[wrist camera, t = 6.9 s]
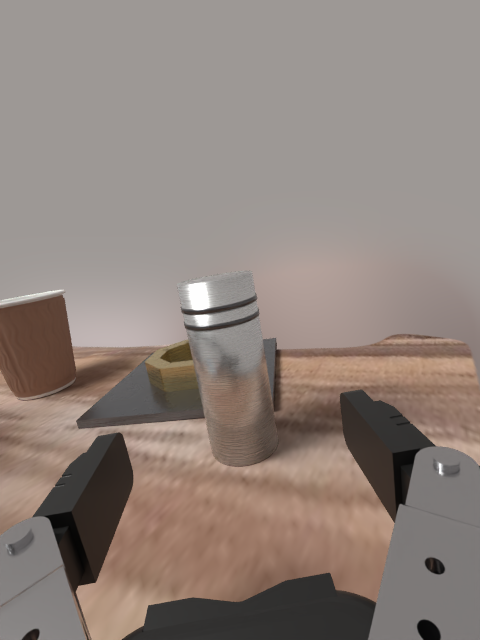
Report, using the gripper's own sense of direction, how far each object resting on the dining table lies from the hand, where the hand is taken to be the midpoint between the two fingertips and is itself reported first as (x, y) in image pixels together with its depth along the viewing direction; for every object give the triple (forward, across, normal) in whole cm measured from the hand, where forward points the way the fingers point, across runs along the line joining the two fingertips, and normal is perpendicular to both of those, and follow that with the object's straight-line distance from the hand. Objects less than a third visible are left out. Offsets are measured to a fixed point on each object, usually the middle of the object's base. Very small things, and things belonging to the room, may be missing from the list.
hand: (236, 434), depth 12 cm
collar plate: (+24, -5, -7) cm, 25 cm away
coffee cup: (+30, -25, -7) cm, 40 cm away
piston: (+10, 0, -7) cm, 12 cm away
